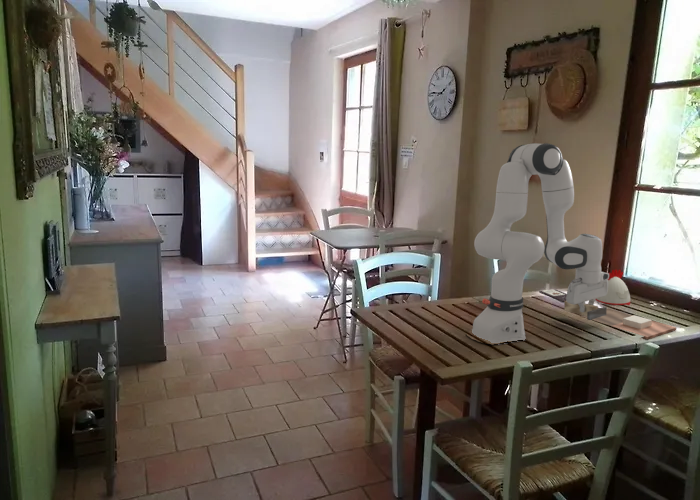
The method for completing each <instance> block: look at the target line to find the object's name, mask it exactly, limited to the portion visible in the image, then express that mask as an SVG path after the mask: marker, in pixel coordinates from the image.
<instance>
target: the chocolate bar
mask: <svg viewBox="0 0 700 500" xmlns="http://www.w3.org/2000/svg"><path fill="white" fill-rule="evenodd" d="M538 292H539V294H543V295H545V296H547V297H549V298H551V299H553V300H554V299H555V300H557V301H559V302H561V303H564V301H566V297H567V292H563V291H561V290H558V289H557V288H556V289H547V290H539V291H538Z"/></svg>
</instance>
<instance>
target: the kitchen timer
mask: <svg viewBox="0 0 700 500" xmlns="http://www.w3.org/2000/svg"><path fill="white" fill-rule="evenodd" d="M608 274H609V279H607V280H608V292H607V294H606V296H603V297H599V298H596V299H595V301H596V302H598V303H601V304H606V305H612V306H618V305H619V306H624V305H627V306H630V305H631V295H630V291H629V289H628V286H627V285H626V282H624V280H622V279H621V278H622V277H623V275H624V271H621V269H616V268H615V269H612V270H611V272H608Z"/></svg>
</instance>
